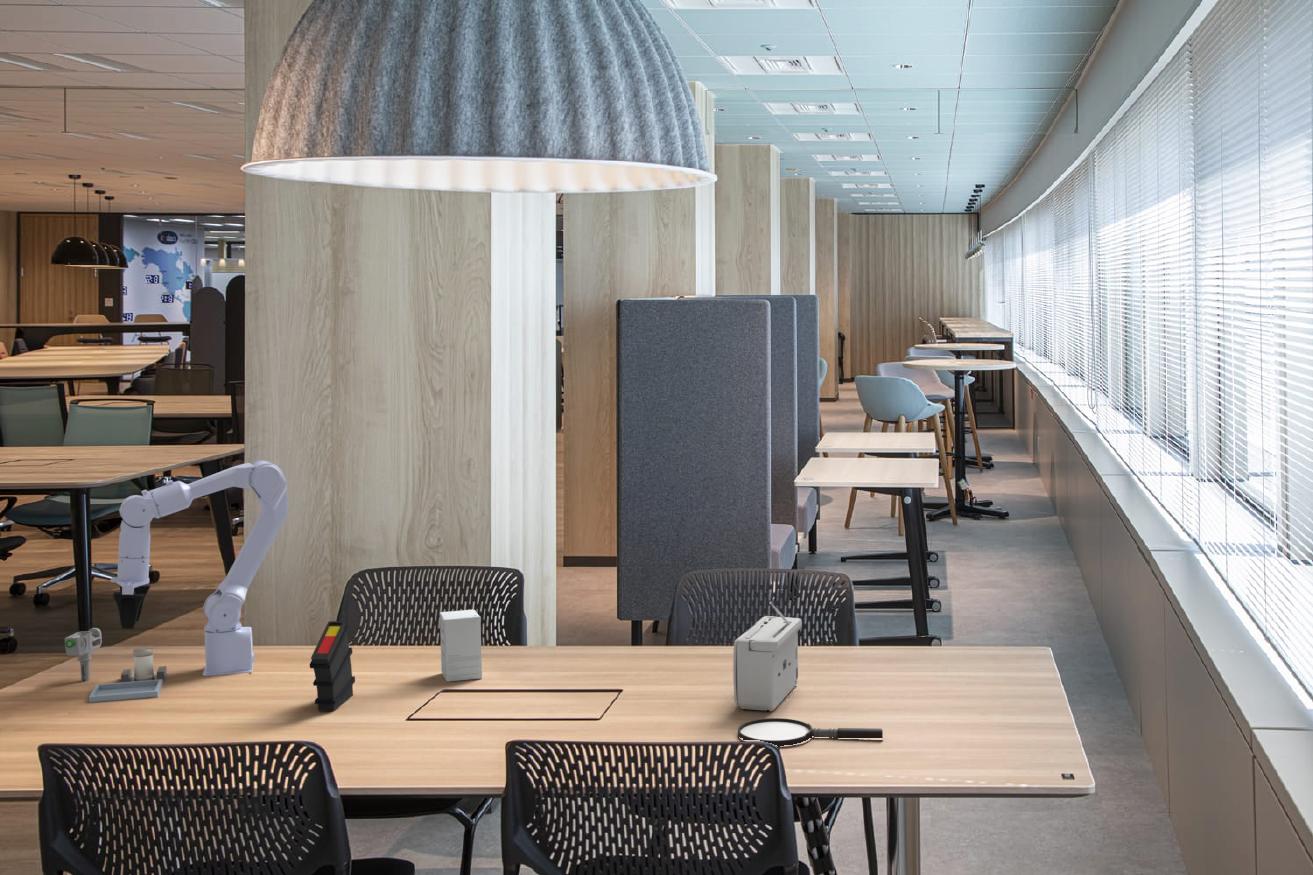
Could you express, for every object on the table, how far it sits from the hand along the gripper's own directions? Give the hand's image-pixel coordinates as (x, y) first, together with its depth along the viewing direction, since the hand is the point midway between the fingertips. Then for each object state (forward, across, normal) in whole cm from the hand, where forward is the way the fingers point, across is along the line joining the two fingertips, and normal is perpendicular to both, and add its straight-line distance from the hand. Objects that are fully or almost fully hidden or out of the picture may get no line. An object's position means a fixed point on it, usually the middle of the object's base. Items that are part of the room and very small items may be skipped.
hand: (130, 624), depth 254 cm
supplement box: (+6, +16, +64) cm, 66 cm away
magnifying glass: (+3, +73, +115) cm, 136 cm away
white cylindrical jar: (+11, 0, +3) cm, 11 cm away
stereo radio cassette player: (+2, +49, +117) cm, 127 cm away
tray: (+12, +10, +1) cm, 15 cm away
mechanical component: (+12, -3, -8) cm, 15 cm away
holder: (+11, 0, +3) cm, 12 cm away
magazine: (+9, +29, +39) cm, 49 cm away
